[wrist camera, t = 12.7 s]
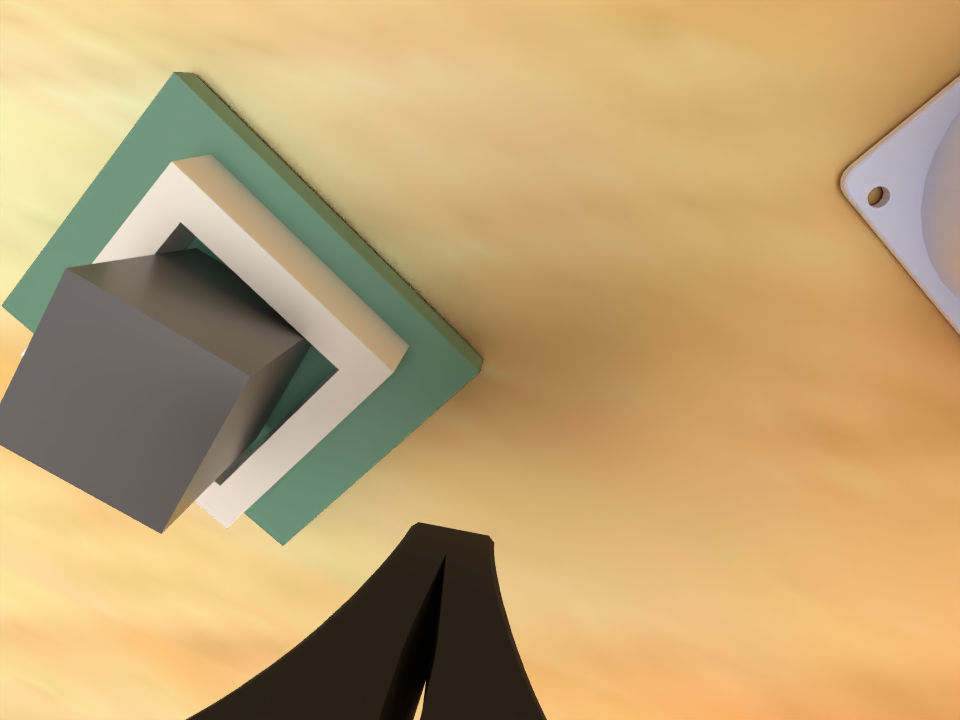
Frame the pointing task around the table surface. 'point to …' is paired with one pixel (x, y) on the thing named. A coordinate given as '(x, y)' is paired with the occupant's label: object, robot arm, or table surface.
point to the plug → (148, 380)
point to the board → (122, 185)
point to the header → (287, 289)
